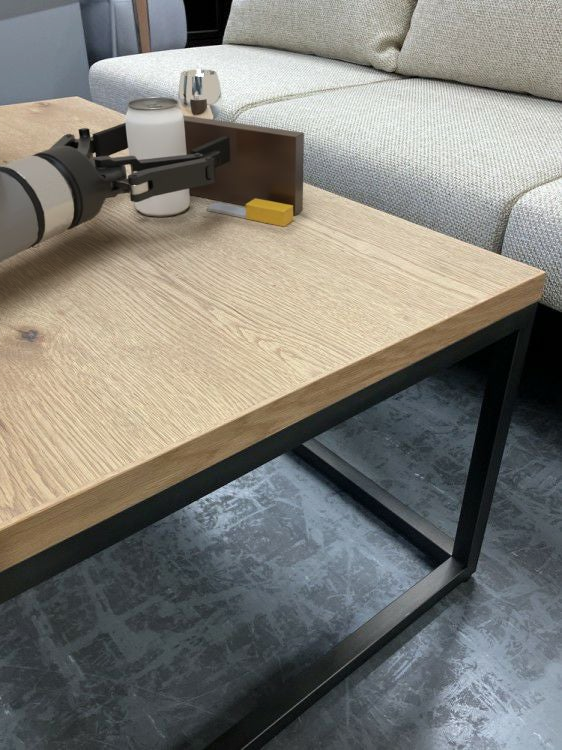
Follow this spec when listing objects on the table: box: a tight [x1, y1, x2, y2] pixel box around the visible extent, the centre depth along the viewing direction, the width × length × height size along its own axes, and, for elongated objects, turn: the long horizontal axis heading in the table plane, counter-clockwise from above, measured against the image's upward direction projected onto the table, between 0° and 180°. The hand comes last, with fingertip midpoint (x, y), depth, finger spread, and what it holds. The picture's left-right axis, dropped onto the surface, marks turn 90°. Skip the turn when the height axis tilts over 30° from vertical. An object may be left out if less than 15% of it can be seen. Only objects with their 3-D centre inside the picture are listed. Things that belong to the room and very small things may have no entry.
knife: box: [206, 198, 294, 227], centre depth 81 cm, size 10×2×2 cm, turn 61°
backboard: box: [183, 115, 305, 216], centre depth 84 cm, size 22×2×9 cm, turn 61°
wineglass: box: [177, 68, 223, 120], centre depth 94 cm, size 6×6×12 cm
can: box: [124, 96, 191, 218], centre depth 80 cm, size 6×6×12 cm
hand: (178, 140), depth 83 cm, fingers open, 13 cm apart
